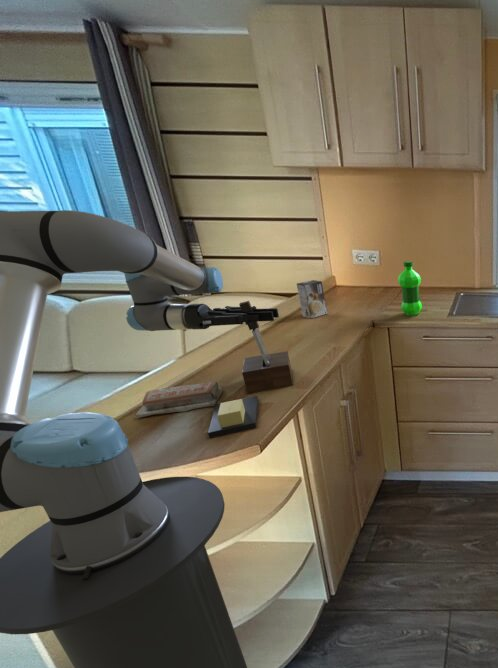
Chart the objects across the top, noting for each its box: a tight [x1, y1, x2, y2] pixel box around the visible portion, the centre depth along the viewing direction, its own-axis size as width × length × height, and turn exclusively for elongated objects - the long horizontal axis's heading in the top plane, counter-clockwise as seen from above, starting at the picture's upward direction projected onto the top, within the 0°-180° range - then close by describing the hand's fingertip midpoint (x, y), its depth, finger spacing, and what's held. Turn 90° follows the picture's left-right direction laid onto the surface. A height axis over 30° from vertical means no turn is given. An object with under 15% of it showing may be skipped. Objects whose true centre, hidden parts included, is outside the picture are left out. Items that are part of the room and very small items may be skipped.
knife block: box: [241, 351, 294, 394], centre depth 126 cm, size 12×12×7 cm
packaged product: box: [134, 381, 223, 419], centre depth 113 cm, size 18×5×10 cm
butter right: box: [229, 398, 245, 425], centre depth 104 cm, size 7×2×4 cm, turn 27°
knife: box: [238, 300, 270, 366], centre depth 121 cm, size 8×2×19 cm, turn 26°
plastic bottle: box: [397, 260, 423, 317], centre depth 191 cm, size 10×10×25 cm
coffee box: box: [296, 279, 328, 319], centre depth 190 cm, size 9×6×16 cm
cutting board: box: [207, 395, 259, 439], centre depth 107 cm, size 16×10×2 cm, turn 27°
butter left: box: [217, 400, 232, 428], centre depth 103 cm, size 7×2×4 cm, turn 27°
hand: (275, 314), depth 120 cm, fingers closed on knife, 3 cm apart
